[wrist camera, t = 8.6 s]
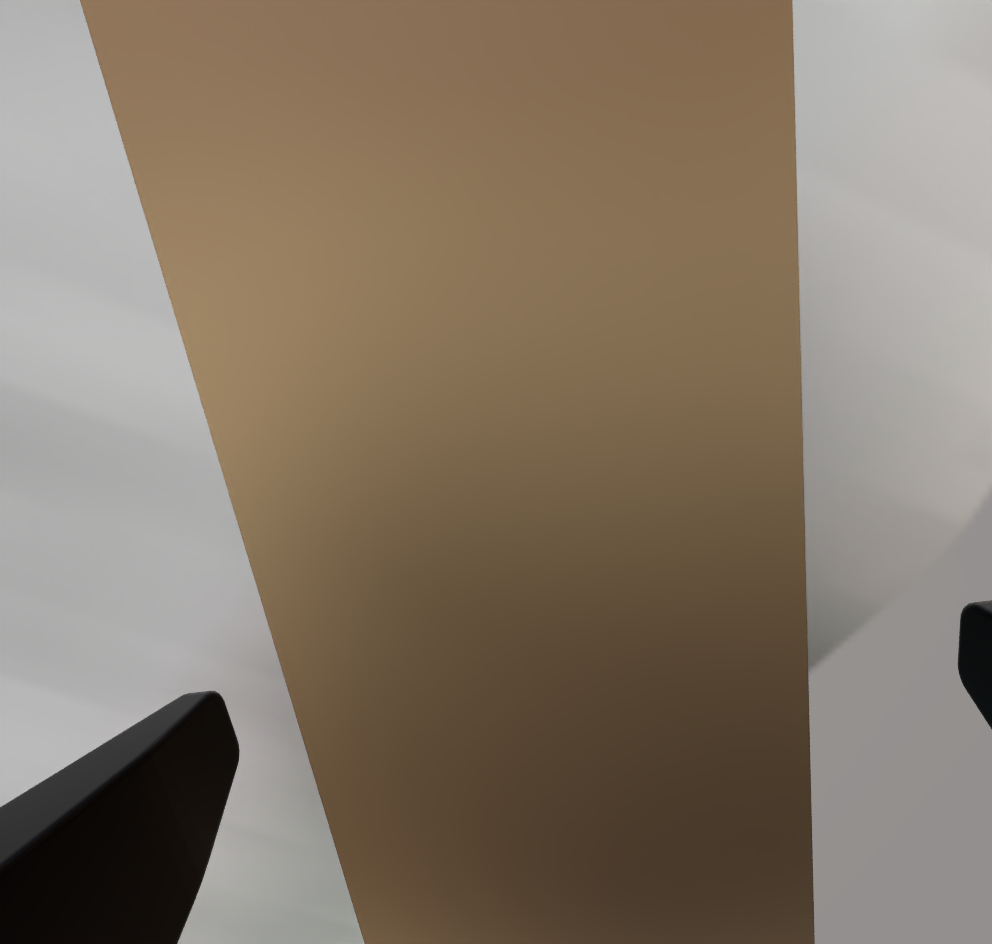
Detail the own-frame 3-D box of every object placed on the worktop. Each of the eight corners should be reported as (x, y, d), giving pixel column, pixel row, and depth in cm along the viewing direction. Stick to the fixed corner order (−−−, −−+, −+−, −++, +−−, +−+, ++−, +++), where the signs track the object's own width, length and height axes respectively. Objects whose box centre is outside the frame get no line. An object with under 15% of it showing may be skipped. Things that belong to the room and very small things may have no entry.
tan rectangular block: (669, 774, 16) (840, 1397, 7) (515, 789, 16) (503, 1402, 8) (601, 117, 12) (820, -268, 3) (394, 156, 12) (53, -88, 3)
